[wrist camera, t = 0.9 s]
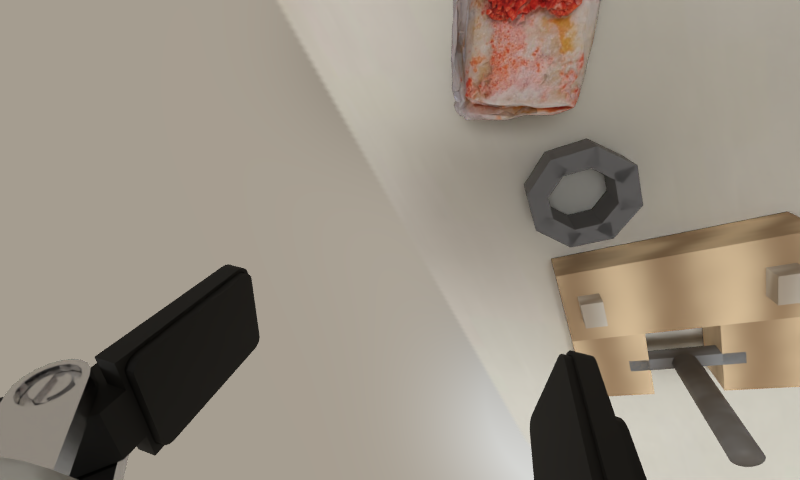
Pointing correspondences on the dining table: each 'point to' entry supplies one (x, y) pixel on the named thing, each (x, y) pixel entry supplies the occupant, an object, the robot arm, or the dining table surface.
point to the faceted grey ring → (609, 209)
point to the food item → (519, 56)
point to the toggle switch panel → (693, 314)
